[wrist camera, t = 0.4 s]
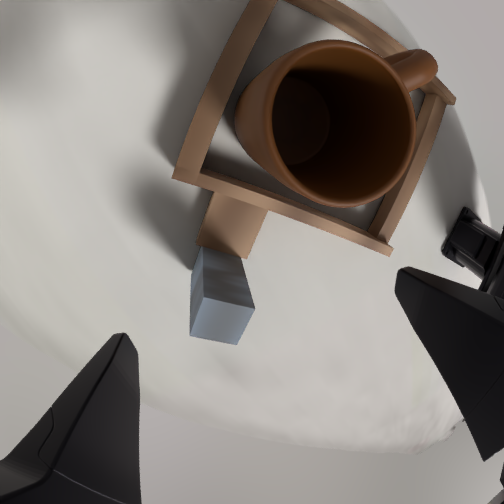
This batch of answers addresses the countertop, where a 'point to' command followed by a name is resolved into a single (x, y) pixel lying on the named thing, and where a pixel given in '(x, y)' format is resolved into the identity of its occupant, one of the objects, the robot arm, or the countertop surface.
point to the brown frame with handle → (260, 200)
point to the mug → (334, 119)
